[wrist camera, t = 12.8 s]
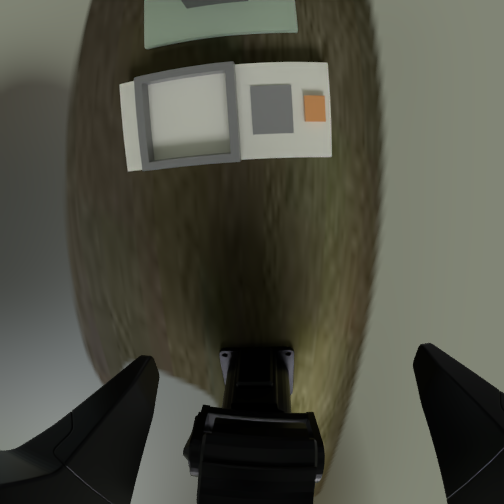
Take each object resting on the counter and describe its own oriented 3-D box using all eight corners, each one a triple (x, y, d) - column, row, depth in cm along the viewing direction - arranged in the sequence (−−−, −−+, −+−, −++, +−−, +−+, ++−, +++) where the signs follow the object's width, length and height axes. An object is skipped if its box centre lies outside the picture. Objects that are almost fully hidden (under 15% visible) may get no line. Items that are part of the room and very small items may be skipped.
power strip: (327, 154, 19) (335, 159, 16) (136, 167, 19) (121, 174, 17) (323, 67, 16) (331, 59, 14) (129, 86, 17) (112, 83, 15)
